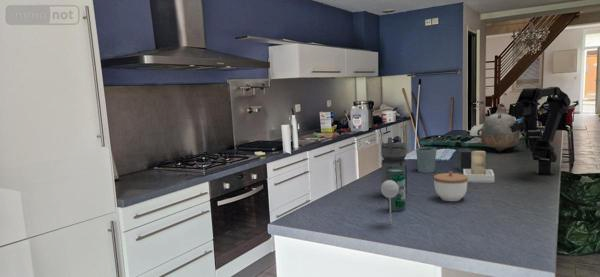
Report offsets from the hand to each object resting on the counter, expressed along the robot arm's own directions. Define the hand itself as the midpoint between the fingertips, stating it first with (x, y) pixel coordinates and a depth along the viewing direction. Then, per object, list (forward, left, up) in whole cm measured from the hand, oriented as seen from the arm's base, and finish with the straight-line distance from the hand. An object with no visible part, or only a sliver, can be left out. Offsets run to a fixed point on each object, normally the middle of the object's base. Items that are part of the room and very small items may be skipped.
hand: (529, 149), depth 190 cm
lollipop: (+75, -53, -13) cm, 93 cm away
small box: (-15, -27, -13) cm, 34 cm away
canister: (+6, -22, -12) cm, 26 cm away
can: (+58, -53, -13) cm, 80 cm away
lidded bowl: (+41, -34, -13) cm, 55 cm away
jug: (-73, -5, -13) cm, 74 cm away
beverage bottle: (+38, -56, -13) cm, 69 cm away
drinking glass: (-10, -46, -13) cm, 49 cm away
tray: (+6, -22, -13) cm, 26 cm away
